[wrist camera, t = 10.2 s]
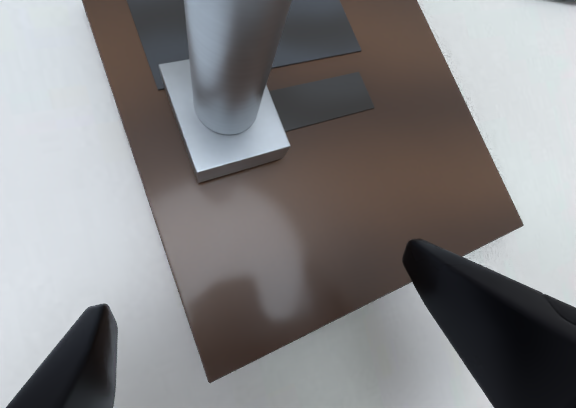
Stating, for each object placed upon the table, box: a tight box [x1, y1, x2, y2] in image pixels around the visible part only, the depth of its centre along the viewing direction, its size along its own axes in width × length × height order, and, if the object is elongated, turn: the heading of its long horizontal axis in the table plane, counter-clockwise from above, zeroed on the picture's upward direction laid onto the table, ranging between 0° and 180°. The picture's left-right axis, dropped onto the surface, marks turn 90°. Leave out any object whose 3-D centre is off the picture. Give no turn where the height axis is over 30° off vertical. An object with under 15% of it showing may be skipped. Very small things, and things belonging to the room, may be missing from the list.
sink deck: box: [82, 0, 523, 383], centre depth 17 cm, size 20×20×2 cm
